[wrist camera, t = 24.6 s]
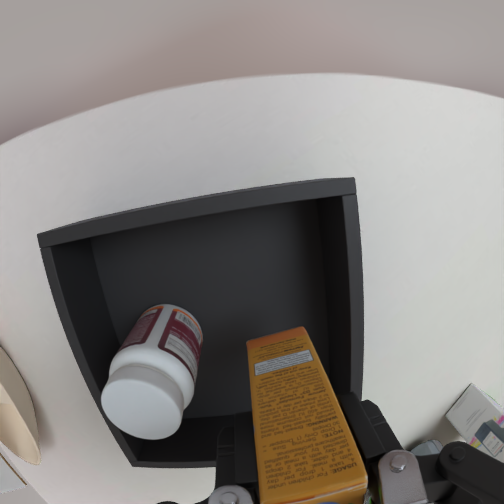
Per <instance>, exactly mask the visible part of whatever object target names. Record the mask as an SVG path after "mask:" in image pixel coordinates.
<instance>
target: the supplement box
mask: <svg viewBox="0 0 504 504" xmlns="http://www.w3.org/2000/svg"><path fill="white" fill-rule="evenodd" d="M246 345H247V351H248V363H249V376H250V389H251V400H252V415H253V428H254V438H255V447H256V458H257V470H258V481H259V495H260V504H364V494H365V493H366V492H367V490H366V489H367V485H368V476H367V473H366V470H365V467H364V464H363V461H362V458H361V456H360V453H359V451H358V448H357V446H356V443H355V441H354V439H353V436H352V434H351V431H350V429H349V426H348V424H347V422H346V419H345V417H344V414H343V412H342V410H341V407H340V405H339V403H338V400H337V398H336V396H335V393H334V391H333V389H332V386H331V384H330V381H329V379H328V377H327V375H326V373H325V371H324V368H323V366H322V364H321V362H320V359H319V357H318V355H317V353H316V351H315V348H314V346H313V344H312V342H311V340H310V338H309V335H308V333H307V331H306V329H305V328H304V327H303V326H301V327H296V328H293V329H289V330H285V331H282V332H278V333H274V334H270V335H266V336H263V337H259V338H256V339H252V340H248V341H247V342H246Z"/></svg>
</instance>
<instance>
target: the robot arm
mask: <svg viewBox="0 0 504 504" xmlns="http://www.w3.org/2000/svg"><path fill="white" fill-rule="evenodd" d="M336 398H337V400H338V403H339V405H340V407H341V410H342V412H343V414H344V417H345V419H346V422H347V424H348V426H349V429H350V431H351V434H352V436H353V439H354V441H355V443H356V446H357V448H358V451H359V453H360V456H361V458H362V461H363V464H364V467H365V470H366V473H367V476H368V485H367V489H368V491H369V494H370V500H369V504H504V463H503V462H501V461H499V460H497V459H495V458H493V457H491V456H489V455H488V454H486V453H484V452H482V451H480V450H478V449H476V448H475V447H473V446H471V445H469V444H467V443H465V442H460V441H456V442H451V443H449V444H447V445H445V446H444V447H443V448H442V450H441V451H440V453H437V454H430V455H422V456H418V455H414V454H413V453H411V452H409V451H407V450H404V449H403V448H402V447H401V445H400V443H399V441H398V440H397V438H396V436H395V435H394V433H393V431H392V430H391V428H390V426H389V424H388V423H387V422H386V419H385V418H384V416H383V415H382V413H381V411H380V409H379V408H378V406H377V405H375V404H374V403H373V402H371V401H370V400H365V401H361V402H360V401H359V399H358V397H357V395H356V394H355V392H354V391H352V392H348V393H344V394H340V395H336ZM367 489H366V490H367ZM157 504H178V503H175V502H171V501H165V502H160V503H157ZM195 504H260V495H259V481H258V470H257V458H256V447H255V438H254V428H253V415H252V411H249V412H242V413H235V414H234V426H227V427H223V428H222V430H221V431H220V433H219V435H218V436H217V456H216V480H215V488H214V491H213V492H212V493H211V495H210V496H209V497H208V498H207V499H205V500H203V501H201V502H198V503H195Z"/></svg>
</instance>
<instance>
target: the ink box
mask: <svg viewBox="0 0 504 504" xmlns="http://www.w3.org/2000/svg"><path fill="white" fill-rule="evenodd" d="M446 418H447V419H448V420H449V421H450V423H451V424H452V425H453V426H454V427H455V429H456V430H457V431H458V432H459V434H460V435H461V436H462V437H463V438H464V440H465V441H466V442H467V443H468V444H469V445H471V446H473V447H475V448H476V449H478V450H480V451H482V452H484V453H486V454H488V455H489V456H491V457H493V458H495V459H497V460H499V461H501V462H503V463H504V408H502V407H501V406H500V405H499V404H498V403H497V402H496V401H495V400H494V399H493V398H491V397H490V396H489V395H487V394H486V393H485V392H483V391H482V390H481V389H479V388H478V387H476V386H475V385H474V384H470V386H469V387H468V388H467V389H466V391H465V392H464V393H463V395H462V396H461V397H460V398H459V400H458V401H457V402H456V403H455V404H454V406H453V407H452V408H451V409H450V410H449V412H448V413H447V414H446Z"/></svg>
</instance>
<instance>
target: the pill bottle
mask: <svg viewBox="0 0 504 504" xmlns="http://www.w3.org/2000/svg"><path fill="white" fill-rule="evenodd" d="M202 341H203V335H202V330H201V327H200V325H199V323H198V322H197V320H196V319H195V318H194V317H193V315H192V314H190V313H189V312H188V311H186V310H185V309H183V308H181V307H178V306H175V305H170V304H160V305H156V306H153V307H151V308H149V309H148V310H146V311H145V312H144V313H143V314H142V315H141V316H140V318H139V319H138V321H137V322H136V324H135V325H134V327H133V329H132V330H131V332H130V333H129V335H128V336H127V338H126V339H125V341H124V343H123V344H122V346H121V347H120V349H119V350H118V352H117V353H116V355H115V356H114V358H113V360H112V362H111V365H110V370H109V379H108V381H107V383H106V385H105V387H104V389H103V392H102V395H101V403H102V408H103V410H104V412H105V414H106V415H107V417H108V418H109V420H110V421H111V422H112V423H113V424H114V425H116V426H117V427H118V428H119V429H121V430H122V431H124V432H126V433H128V434H130V435H132V436H135V437H138V438H143V439H152V440H157V439H163V438H166V437H169V436H170V435H172V434H174V433H175V432H176V431H177V430H178V428H179V426H180V424H181V420H182V415H183V411H184V409H185V408H186V407H187V406H188V405H189V403H190V402H191V400H192V397H193V395H194V389H195V382H196V377H197V371H198V365H199V359H200V353H201V347H202Z"/></svg>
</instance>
